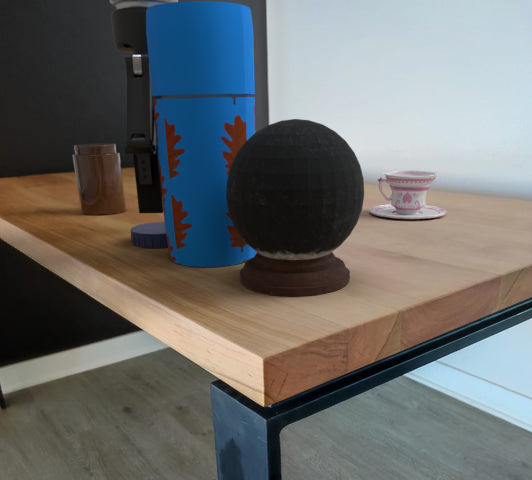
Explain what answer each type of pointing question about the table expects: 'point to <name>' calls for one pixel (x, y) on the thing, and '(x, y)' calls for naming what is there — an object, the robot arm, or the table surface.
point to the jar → (99, 178)
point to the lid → (149, 235)
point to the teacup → (408, 196)
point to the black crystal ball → (295, 207)
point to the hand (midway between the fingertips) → (161, 203)
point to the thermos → (201, 122)
